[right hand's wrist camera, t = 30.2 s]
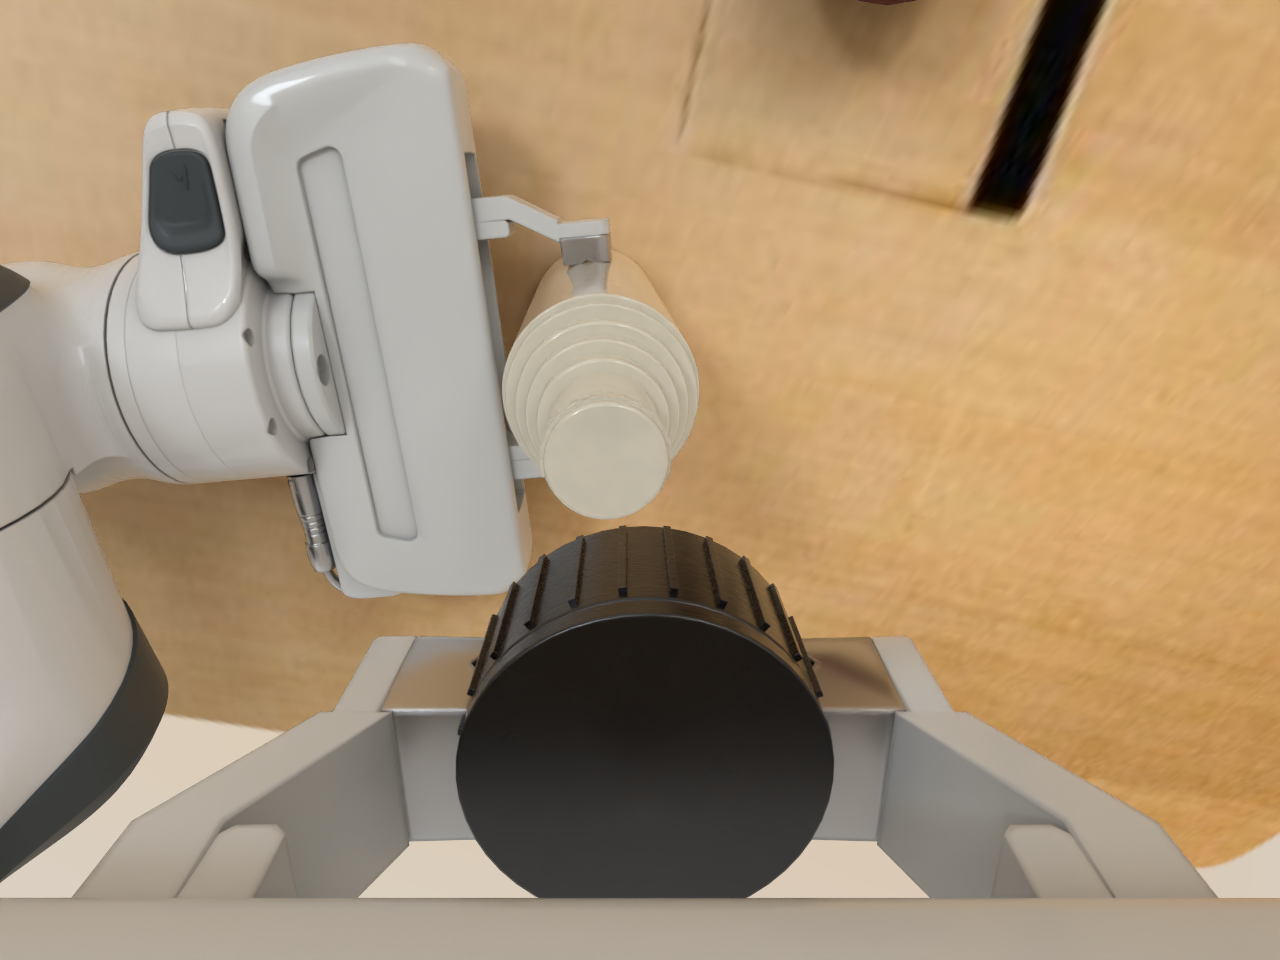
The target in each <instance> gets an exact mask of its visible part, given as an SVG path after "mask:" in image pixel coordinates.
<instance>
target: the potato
mask: <svg viewBox="0 0 1280 960" xmlns="http://www.w3.org/2000/svg"><path fill="white" fill-rule="evenodd" d="M859 1H863V2H870V3H877V4H883V5H891V4H897V3H903V2H910V1H915V0H859Z"/></svg>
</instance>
